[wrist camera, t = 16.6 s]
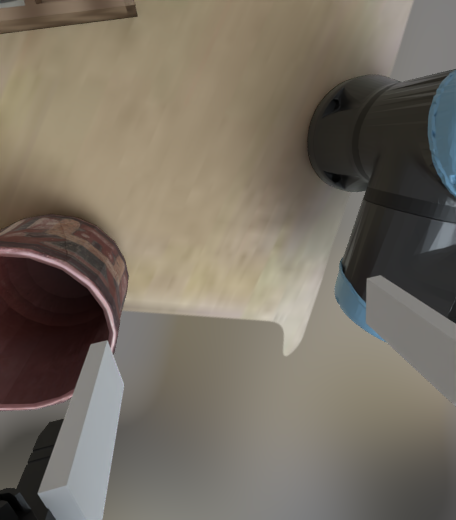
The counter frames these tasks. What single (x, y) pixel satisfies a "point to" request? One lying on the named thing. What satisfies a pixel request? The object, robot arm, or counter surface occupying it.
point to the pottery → (54, 306)
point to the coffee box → (3, 0)
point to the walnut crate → (60, 13)
